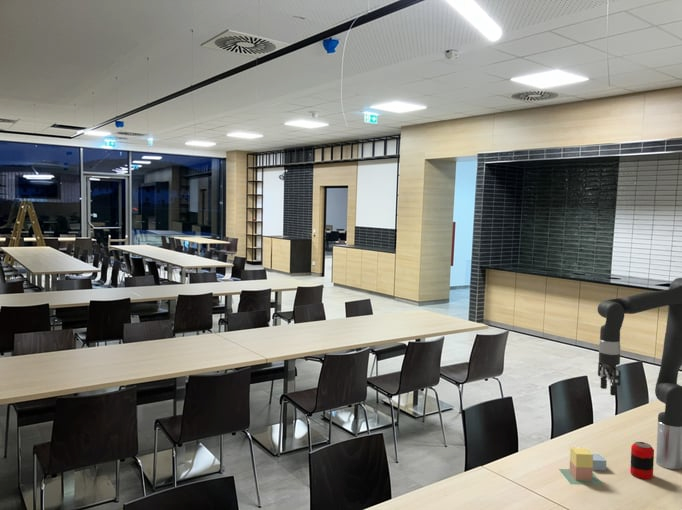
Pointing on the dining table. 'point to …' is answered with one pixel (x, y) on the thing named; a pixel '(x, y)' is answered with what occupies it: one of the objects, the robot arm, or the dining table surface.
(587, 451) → the mustard brick
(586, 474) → the base brick
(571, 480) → the build plate
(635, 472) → the soda can
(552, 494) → the dining table surface
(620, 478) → the dining table surface
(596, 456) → the slate brick
